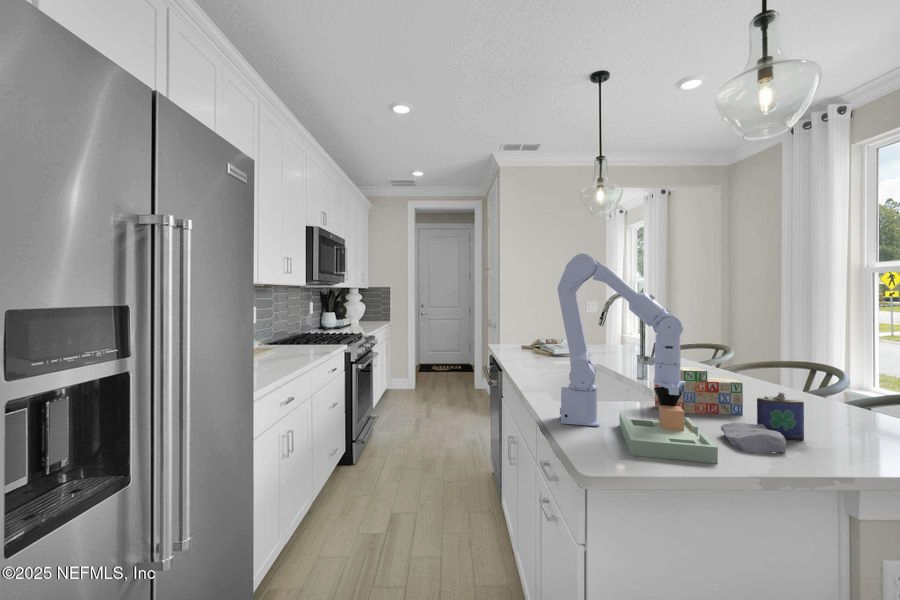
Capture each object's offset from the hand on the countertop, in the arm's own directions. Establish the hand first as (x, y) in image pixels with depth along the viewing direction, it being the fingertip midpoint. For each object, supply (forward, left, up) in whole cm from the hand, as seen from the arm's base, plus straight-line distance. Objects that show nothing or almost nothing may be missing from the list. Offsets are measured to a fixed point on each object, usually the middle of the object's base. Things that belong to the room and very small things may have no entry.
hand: (667, 417), depth 105 cm
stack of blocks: (+12, +22, -3) cm, 25 cm away
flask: (+24, +1, -3) cm, 25 cm away
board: (-3, -9, -3) cm, 10 cm away
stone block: (+16, -5, -3) cm, 17 cm away
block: (0, -4, -1) cm, 5 cm away
